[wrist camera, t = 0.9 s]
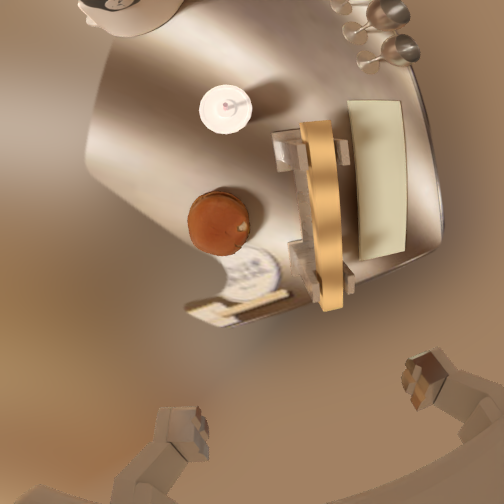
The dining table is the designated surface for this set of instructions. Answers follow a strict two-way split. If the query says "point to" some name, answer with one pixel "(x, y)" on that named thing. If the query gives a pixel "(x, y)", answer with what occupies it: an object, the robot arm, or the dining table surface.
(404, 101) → the dining table surface
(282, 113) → the dining table surface
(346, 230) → the dining table surface
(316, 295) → the rack
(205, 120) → the beverage cup
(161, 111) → the dining table surface
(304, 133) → the bar
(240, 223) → the burger
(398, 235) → the mat
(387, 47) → the goblet set
